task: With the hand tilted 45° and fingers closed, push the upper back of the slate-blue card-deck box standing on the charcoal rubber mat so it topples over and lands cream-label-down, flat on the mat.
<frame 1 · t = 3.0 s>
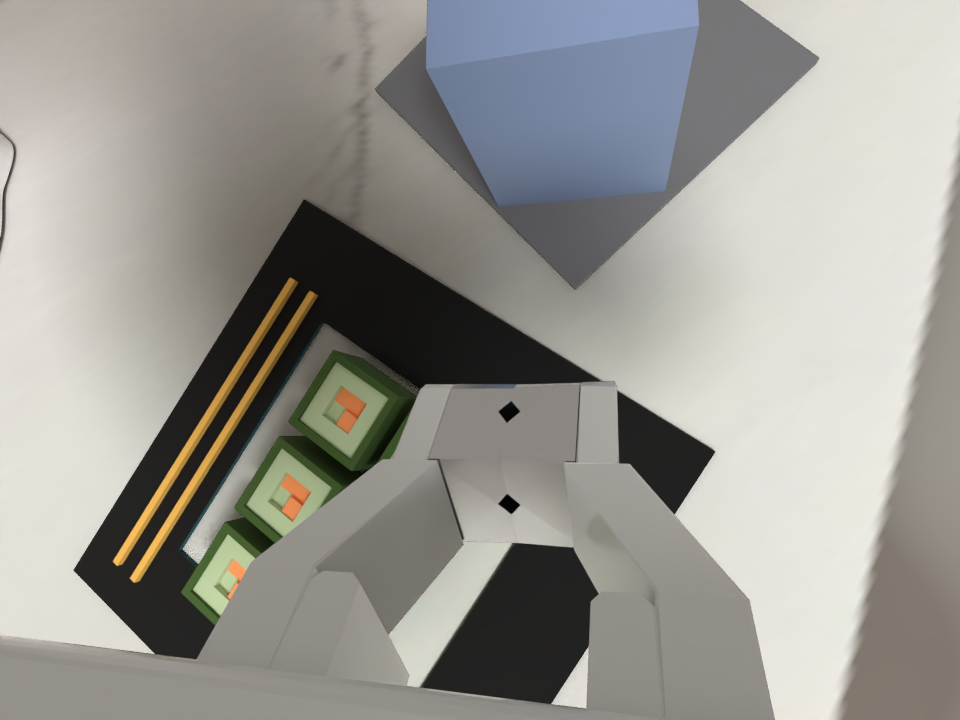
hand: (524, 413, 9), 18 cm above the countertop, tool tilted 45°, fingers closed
card deck: (578, 175, 27), resting on rubber mat
sushi: (361, 515, 29), on the countertop
rubber mat: (575, 79, 28), on the countertop
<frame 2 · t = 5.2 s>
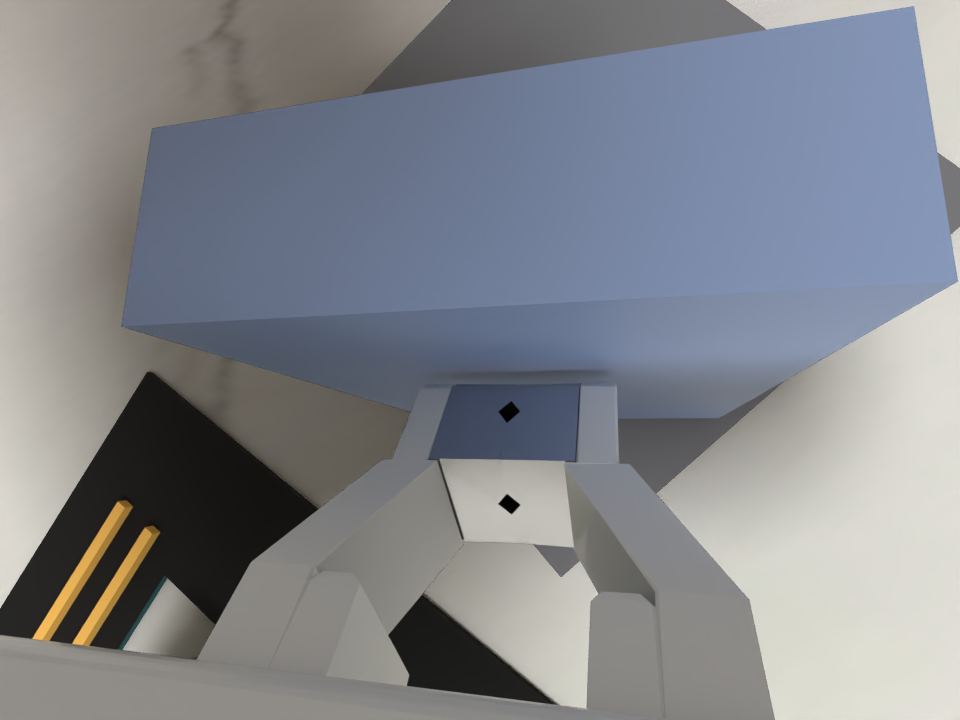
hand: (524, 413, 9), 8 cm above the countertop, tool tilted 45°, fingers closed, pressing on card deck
card deck: (567, 375, 16), resting on rubber mat, touching gripper
rubber mat: (563, 207, 17), on the countertop
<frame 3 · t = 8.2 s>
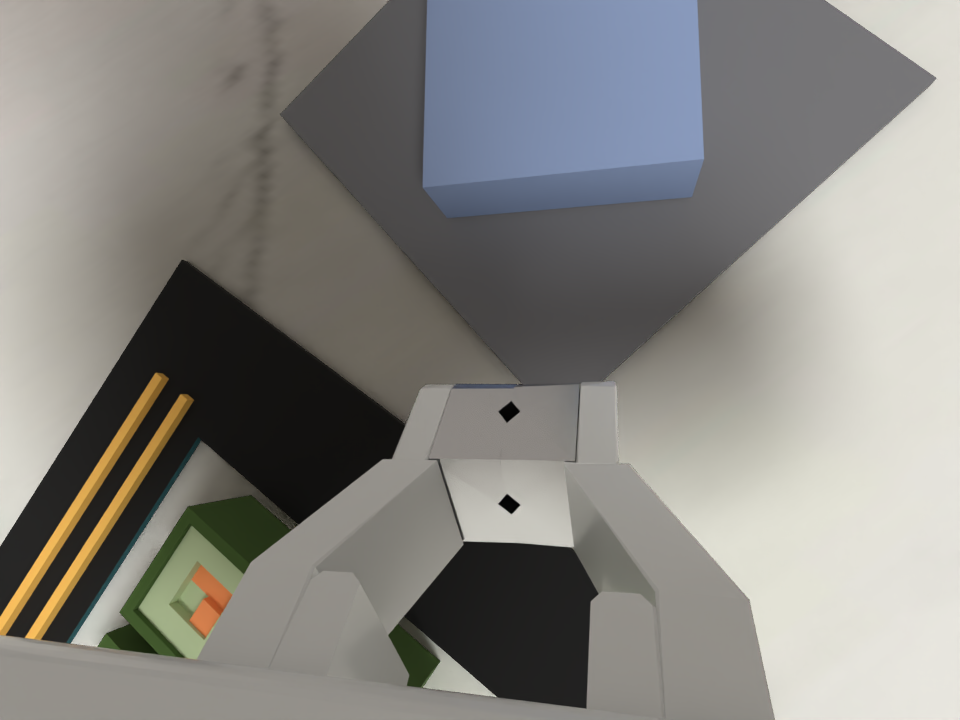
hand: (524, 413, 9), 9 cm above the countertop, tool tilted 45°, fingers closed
card deck: (559, 192, 17), point 2 cm above the countertop, tilted 90°, touching rubber mat
rubber mat: (561, 105, 19), on the countertop
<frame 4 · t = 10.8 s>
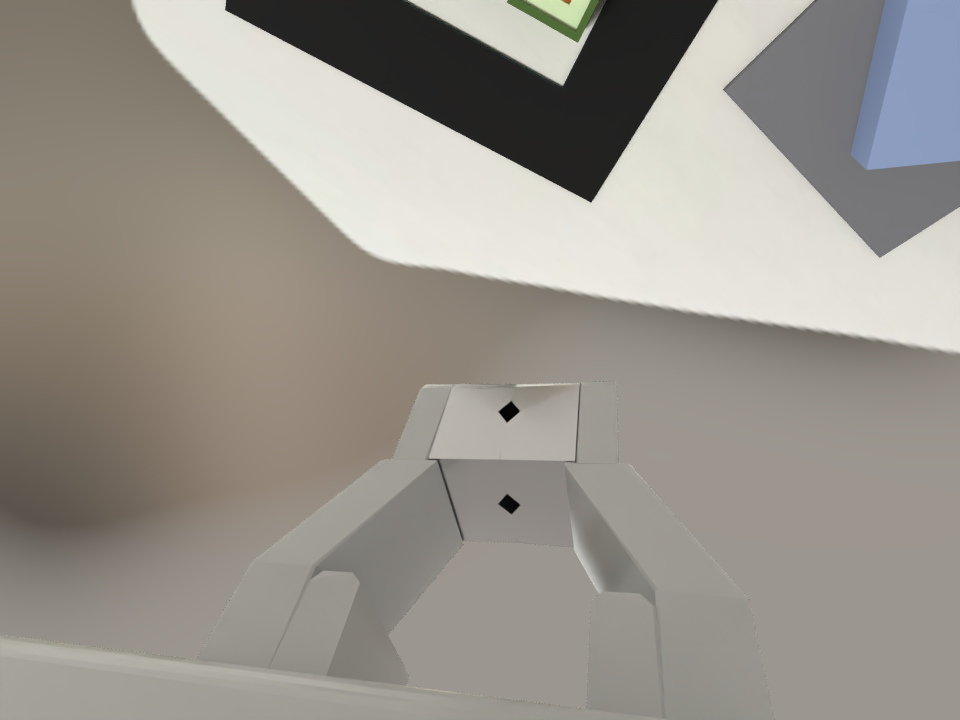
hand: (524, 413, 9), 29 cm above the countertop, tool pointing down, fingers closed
card deck: (876, 83, 28), point 2 cm above the countertop, tilted 90°, touching rubber mat
rubber mat: (952, 62, 28), on the countertop
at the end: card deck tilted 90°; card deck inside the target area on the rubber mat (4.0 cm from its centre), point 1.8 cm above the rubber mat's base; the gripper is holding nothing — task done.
